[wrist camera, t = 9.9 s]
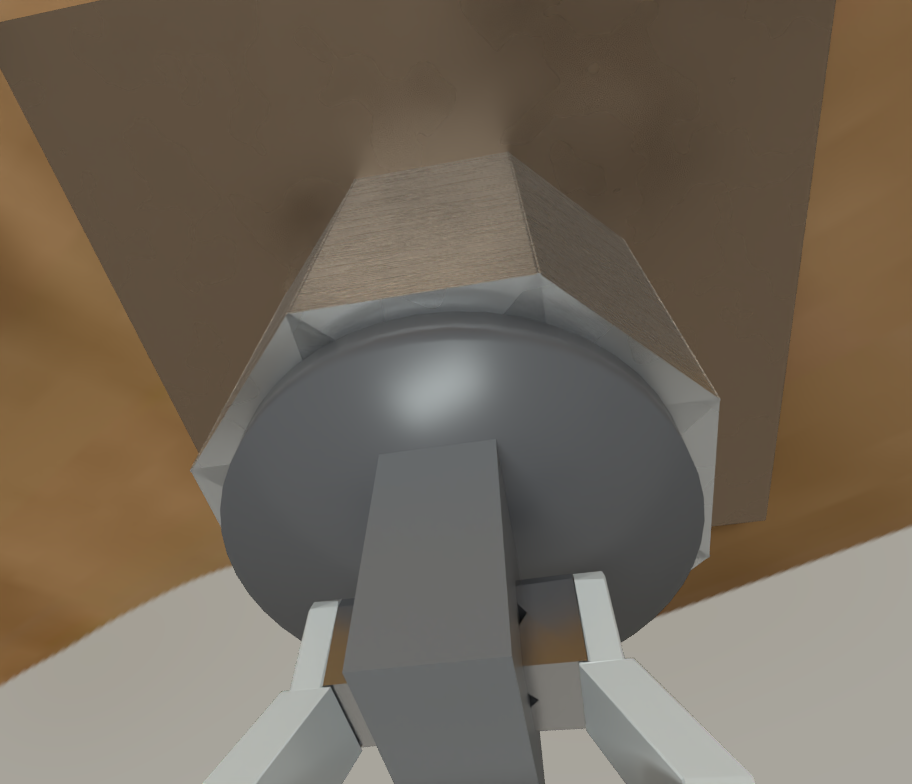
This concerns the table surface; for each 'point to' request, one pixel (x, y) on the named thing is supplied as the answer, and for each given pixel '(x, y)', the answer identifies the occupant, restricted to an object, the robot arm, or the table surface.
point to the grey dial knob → (457, 518)
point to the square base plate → (444, 188)
